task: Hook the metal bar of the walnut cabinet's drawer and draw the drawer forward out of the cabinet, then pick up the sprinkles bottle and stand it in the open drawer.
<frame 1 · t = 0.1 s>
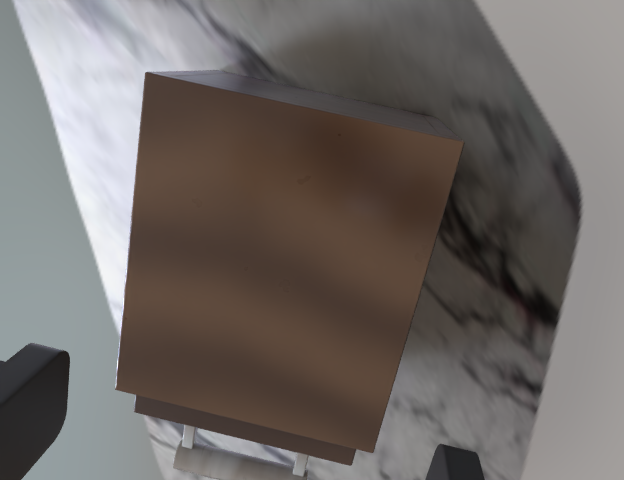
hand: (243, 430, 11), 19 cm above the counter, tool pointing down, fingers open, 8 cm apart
cabinet: (300, 218, 30), on the counter
drawer: (270, 331, 27), point 5 cm above the counter, slide at 0.5 cm
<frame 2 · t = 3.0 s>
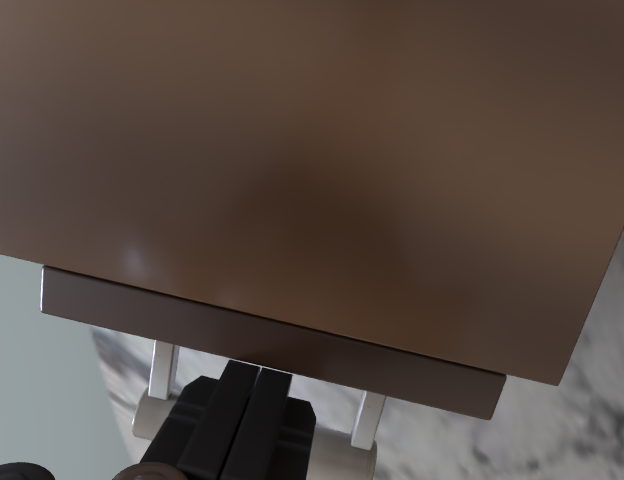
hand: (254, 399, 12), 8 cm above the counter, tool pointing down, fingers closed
drawer: (312, 172, 14), point 5 cm above the counter, slide at 0.5 cm, touching gripper
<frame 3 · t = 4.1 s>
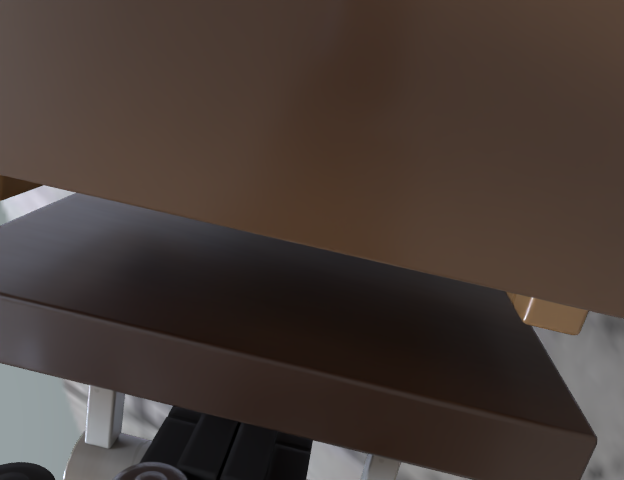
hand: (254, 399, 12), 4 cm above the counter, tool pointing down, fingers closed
drawer: (304, 139, 10), point 5 cm above the counter, slide at 2.1 cm, touching gripper
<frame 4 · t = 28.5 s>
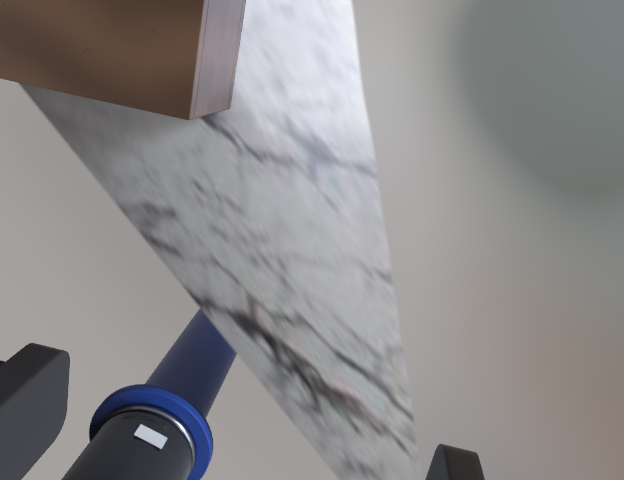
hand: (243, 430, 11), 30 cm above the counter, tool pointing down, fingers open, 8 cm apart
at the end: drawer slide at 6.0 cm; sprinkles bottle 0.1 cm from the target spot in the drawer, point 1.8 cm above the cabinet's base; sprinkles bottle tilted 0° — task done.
